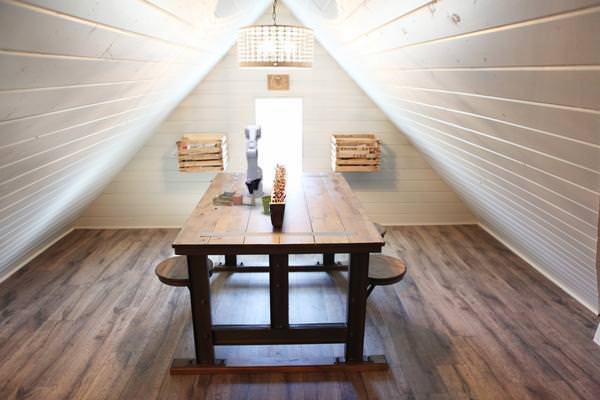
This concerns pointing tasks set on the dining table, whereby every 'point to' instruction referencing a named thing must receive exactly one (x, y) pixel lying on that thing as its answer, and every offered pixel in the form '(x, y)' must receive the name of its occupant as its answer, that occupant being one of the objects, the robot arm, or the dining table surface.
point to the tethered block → (239, 200)
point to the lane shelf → (222, 200)
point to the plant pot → (266, 203)
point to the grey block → (230, 193)
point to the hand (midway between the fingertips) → (253, 192)
